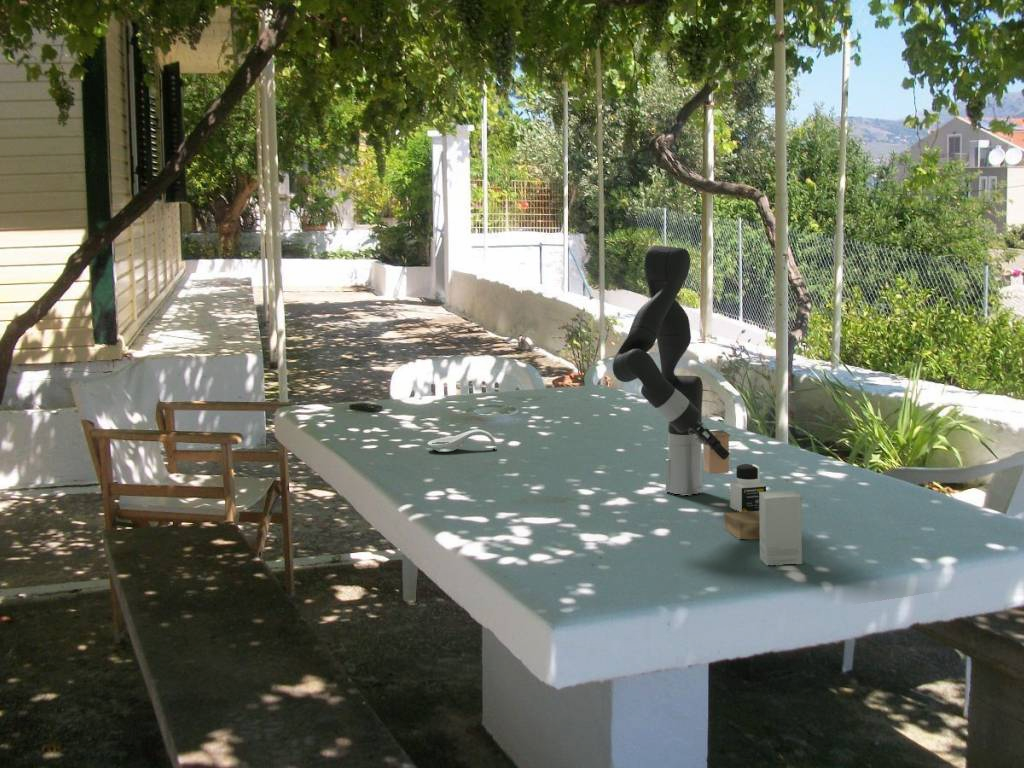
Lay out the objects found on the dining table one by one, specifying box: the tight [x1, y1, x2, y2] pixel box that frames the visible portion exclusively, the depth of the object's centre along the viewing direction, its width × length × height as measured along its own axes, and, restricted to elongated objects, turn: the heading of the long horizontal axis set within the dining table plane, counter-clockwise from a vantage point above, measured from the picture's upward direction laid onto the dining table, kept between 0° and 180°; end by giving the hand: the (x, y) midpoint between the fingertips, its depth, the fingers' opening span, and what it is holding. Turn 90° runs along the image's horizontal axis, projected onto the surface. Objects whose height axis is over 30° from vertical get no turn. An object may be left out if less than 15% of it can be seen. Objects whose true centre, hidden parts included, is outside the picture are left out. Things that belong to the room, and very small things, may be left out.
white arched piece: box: [427, 429, 497, 448], centre depth 411 cm, size 24×12×7 cm, turn 95°
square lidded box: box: [702, 429, 731, 475], centre depth 301 cm, size 5×5×10 cm
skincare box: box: [759, 489, 803, 567], centre depth 263 cm, size 8×7×16 cm
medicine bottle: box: [729, 463, 767, 512], centre depth 314 cm, size 7×7×12 cm
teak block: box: [724, 511, 760, 540], centre depth 290 cm, size 11×11×4 cm
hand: (722, 454), depth 302 cm, fingers closed on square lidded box, 5 cm apart
